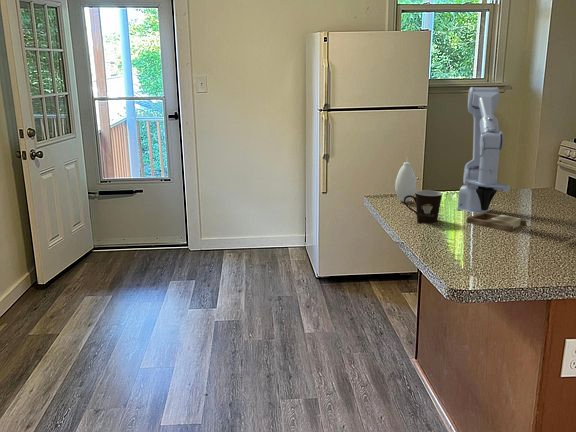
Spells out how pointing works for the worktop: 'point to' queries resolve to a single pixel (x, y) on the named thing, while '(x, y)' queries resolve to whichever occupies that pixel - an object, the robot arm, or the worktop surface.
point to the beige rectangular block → (507, 220)
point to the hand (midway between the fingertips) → (484, 209)
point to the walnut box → (485, 218)
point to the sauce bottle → (405, 182)
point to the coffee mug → (426, 205)
